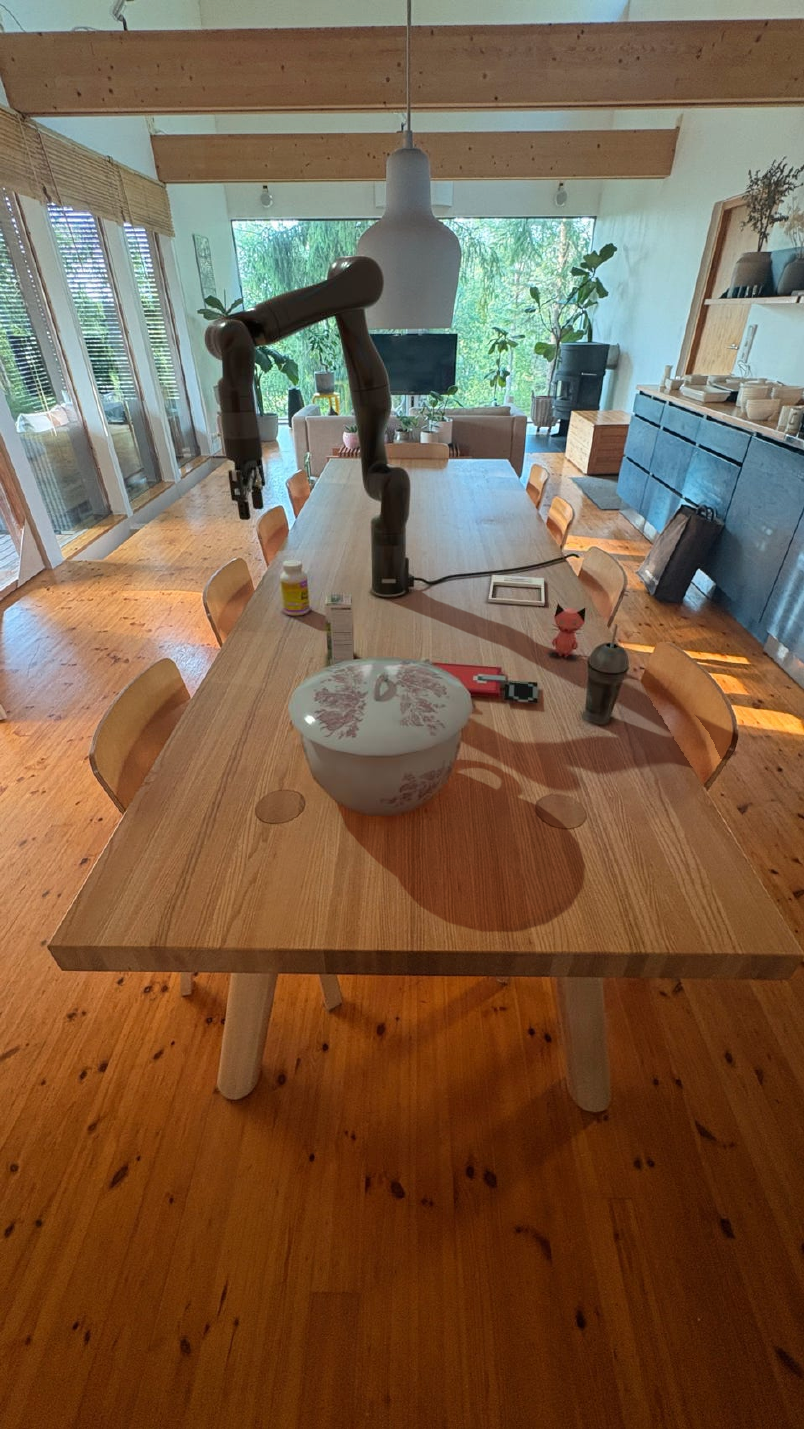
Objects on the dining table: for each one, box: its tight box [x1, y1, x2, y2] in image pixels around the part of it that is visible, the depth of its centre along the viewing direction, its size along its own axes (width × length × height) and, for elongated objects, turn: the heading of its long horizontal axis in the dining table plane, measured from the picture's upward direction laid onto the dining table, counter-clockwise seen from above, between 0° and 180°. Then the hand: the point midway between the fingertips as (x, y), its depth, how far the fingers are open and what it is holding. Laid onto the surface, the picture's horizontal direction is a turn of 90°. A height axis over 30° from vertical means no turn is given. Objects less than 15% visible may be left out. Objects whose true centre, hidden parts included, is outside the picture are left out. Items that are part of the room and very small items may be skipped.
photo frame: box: [487, 574, 546, 607], centre depth 171 cm, size 15×1×18 cm
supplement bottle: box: [279, 559, 310, 617], centre depth 157 cm, size 7×7×13 cm
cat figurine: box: [551, 603, 587, 661], centre depth 137 cm, size 7×7×12 cm
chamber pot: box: [287, 656, 474, 818], centre depth 96 cm, size 28×28×21 cm
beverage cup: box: [584, 623, 630, 725], centre depth 113 cm, size 7×7×20 cm
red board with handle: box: [431, 661, 539, 704], centre depth 128 cm, size 30×3×15 cm
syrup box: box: [324, 593, 355, 667], centre depth 134 cm, size 6×6×14 cm
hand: (252, 513), depth 137 cm, fingers open, 8 cm apart
